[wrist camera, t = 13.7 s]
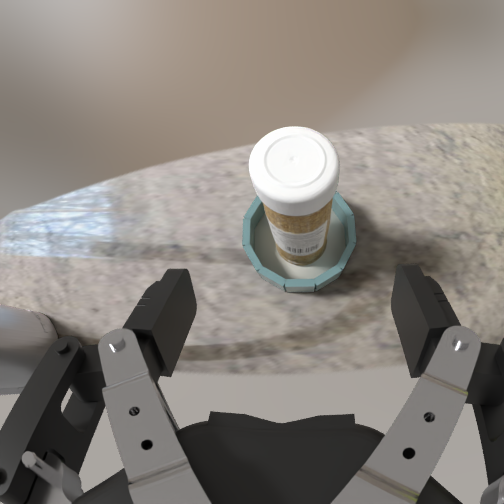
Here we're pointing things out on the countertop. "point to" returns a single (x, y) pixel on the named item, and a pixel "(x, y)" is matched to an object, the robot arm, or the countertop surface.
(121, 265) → the countertop surface
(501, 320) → the countertop surface
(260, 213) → the teal bowl
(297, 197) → the sprinkles bottle
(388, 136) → the countertop surface
